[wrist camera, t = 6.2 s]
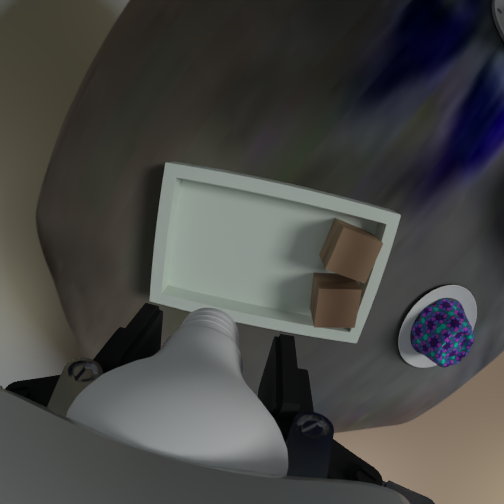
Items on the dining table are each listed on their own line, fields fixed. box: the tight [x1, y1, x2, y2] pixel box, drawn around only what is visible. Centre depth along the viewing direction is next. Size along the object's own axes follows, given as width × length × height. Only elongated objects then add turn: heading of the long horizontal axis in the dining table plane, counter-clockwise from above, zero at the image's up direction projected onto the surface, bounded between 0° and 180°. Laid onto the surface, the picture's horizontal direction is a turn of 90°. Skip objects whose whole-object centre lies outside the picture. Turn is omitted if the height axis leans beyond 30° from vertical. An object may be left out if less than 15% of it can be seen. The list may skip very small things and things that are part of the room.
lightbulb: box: [66, 308, 288, 475], centre depth 9 cm, size 6×6×11 cm
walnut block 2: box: [310, 273, 362, 328], centre depth 29 cm, size 4×4×4 cm
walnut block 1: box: [319, 218, 383, 284], centre depth 28 cm, size 4×4×4 cm
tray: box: [150, 162, 401, 343], centre depth 30 cm, size 22×14×3 cm, turn 78°
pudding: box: [398, 285, 477, 368], centre depth 31 cm, size 12×12×5 cm
